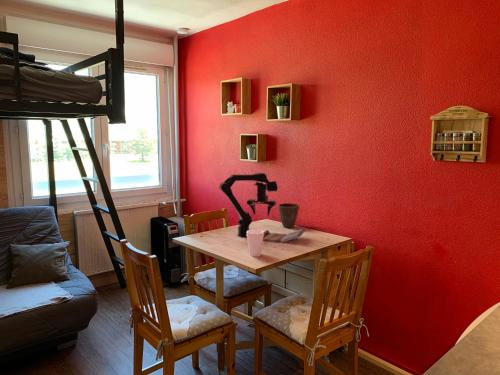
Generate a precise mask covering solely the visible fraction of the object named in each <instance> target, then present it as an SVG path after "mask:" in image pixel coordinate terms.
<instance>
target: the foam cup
mask: <svg viewBox="0 0 500 375" xmlns="http://www.w3.org/2000/svg"><path fill="white" fill-rule="evenodd" d="M264 232H265V231H264V230H262V229H249V230H248V231H247V237H246V239H247V247H248V253H249V256H250V257H259V256H261V255H262V249H263V243H264V241H263V236H264Z"/></svg>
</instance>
